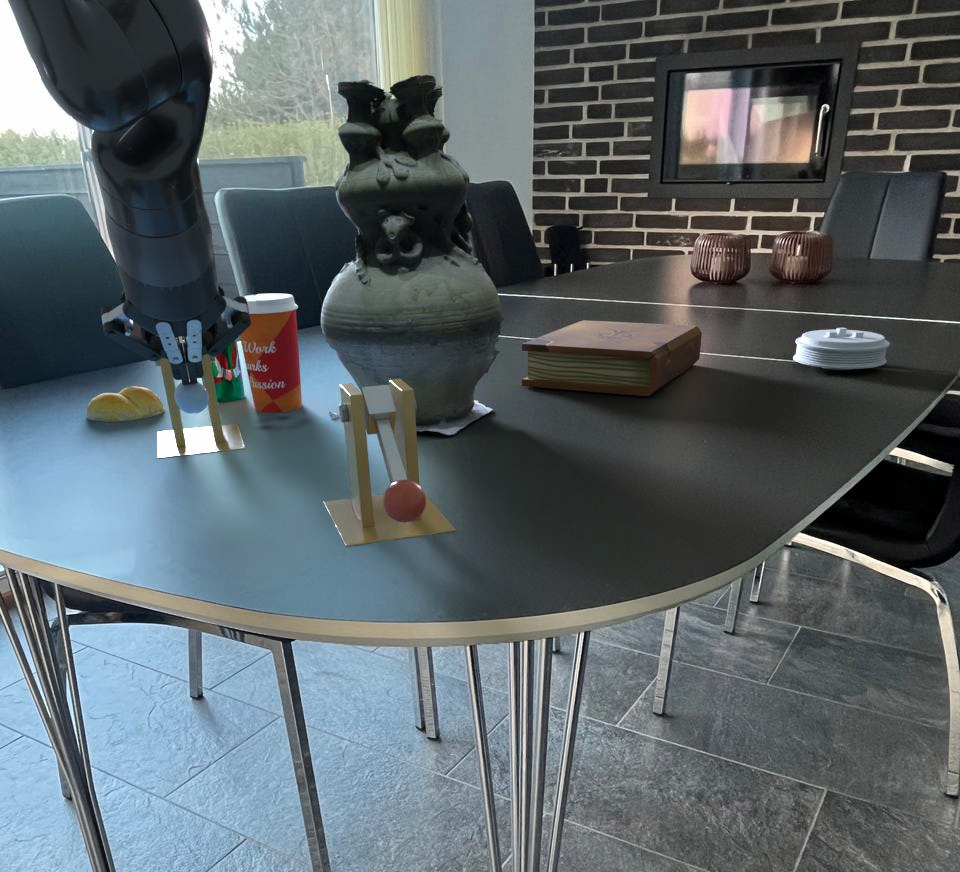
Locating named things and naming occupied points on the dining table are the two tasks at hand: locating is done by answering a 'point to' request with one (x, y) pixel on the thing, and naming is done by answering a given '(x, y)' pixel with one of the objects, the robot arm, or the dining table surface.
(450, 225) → the decorative urn
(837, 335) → the lid
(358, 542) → the swinging ball frame
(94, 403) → the bread roll
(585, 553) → the dining table surface
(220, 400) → the soda can
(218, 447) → the hanging ball swing frame
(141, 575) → the dining table surface
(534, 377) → the diary
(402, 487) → the lever
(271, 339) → the paper cup
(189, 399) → the lever
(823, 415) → the dining table surface
